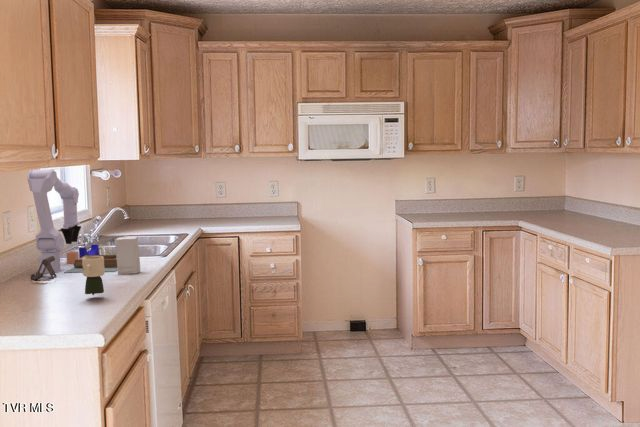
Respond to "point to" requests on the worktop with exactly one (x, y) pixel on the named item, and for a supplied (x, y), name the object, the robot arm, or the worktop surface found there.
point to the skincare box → (127, 255)
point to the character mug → (93, 274)
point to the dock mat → (80, 270)
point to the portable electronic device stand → (47, 264)
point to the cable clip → (93, 251)
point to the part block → (71, 257)
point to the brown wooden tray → (108, 261)
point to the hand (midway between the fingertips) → (71, 242)
